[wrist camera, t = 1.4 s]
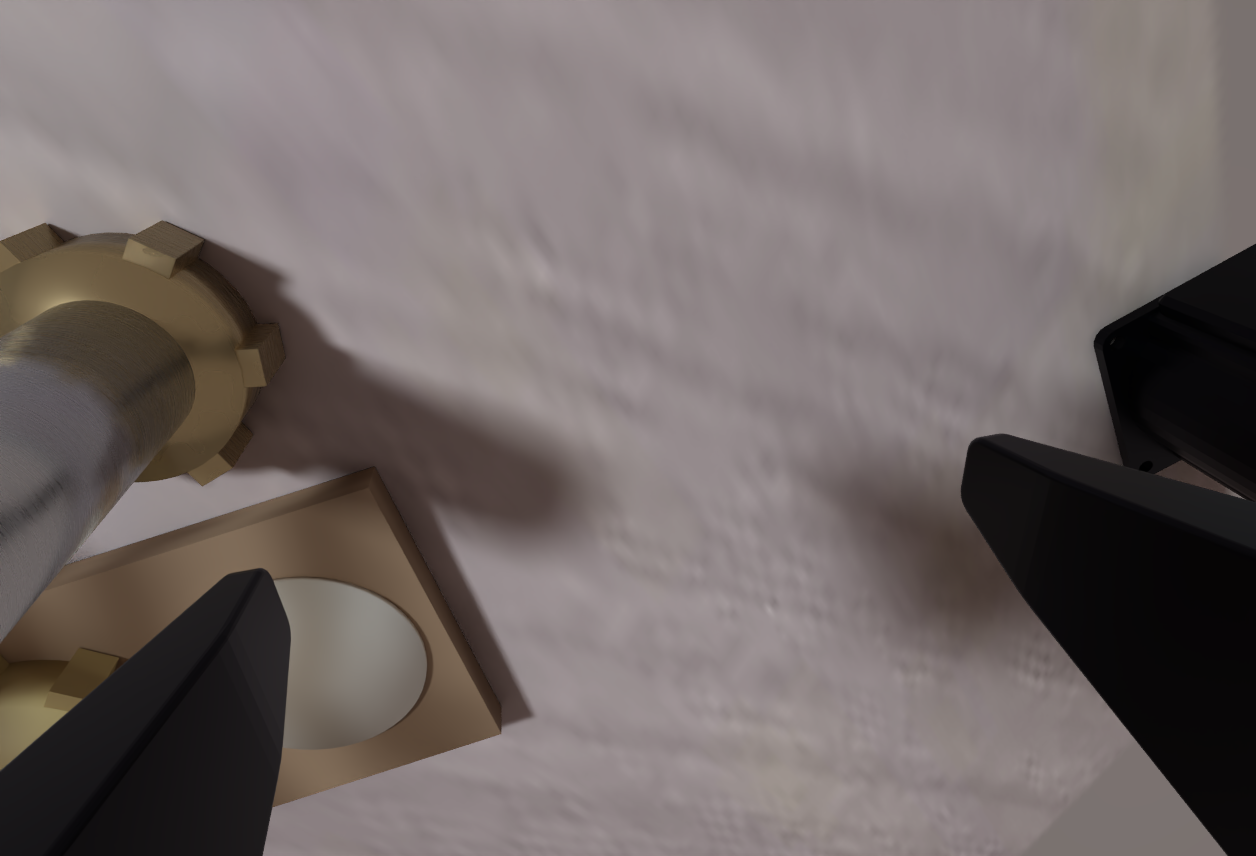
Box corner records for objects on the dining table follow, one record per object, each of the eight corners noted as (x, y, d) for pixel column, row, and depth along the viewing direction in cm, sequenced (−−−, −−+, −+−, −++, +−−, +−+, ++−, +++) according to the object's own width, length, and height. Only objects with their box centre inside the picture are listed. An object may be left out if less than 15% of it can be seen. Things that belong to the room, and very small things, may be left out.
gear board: (374, 466, 22) (346, 562, 18) (501, 707, 28) (501, 824, 24) (-168, 639, 22) (-319, 775, 18) (62, 848, 28) (-14, 989, 24)
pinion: (333, 385, 21) (203, 651, 12) (150, 498, 22) (-105, 831, 13) (136, 161, 18) (-251, 290, 9) (-71, 302, 19) (-632, 560, 9)
